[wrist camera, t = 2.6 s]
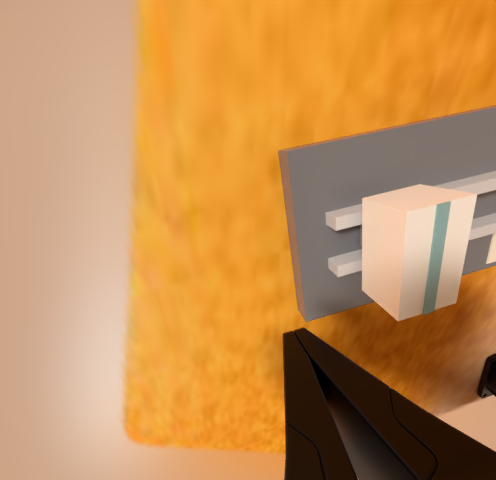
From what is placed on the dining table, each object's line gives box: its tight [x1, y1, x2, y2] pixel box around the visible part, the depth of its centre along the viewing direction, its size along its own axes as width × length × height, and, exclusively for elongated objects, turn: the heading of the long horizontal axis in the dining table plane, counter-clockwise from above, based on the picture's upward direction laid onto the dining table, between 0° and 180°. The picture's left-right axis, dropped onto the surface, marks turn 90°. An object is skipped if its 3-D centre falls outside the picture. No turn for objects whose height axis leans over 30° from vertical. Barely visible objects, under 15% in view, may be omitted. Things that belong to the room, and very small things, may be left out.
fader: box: [360, 184, 477, 321], centre depth 14 cm, size 6×4×5 cm, turn 11°
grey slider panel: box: [279, 105, 496, 322], centre depth 17 cm, size 12×22×3 cm, turn 101°
